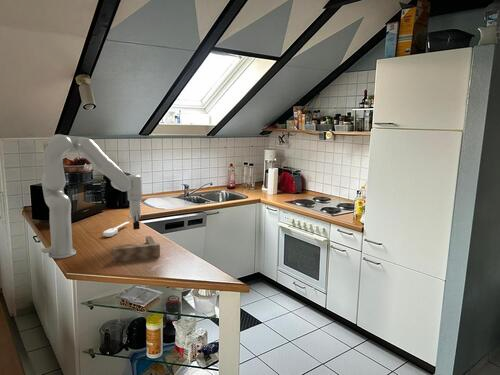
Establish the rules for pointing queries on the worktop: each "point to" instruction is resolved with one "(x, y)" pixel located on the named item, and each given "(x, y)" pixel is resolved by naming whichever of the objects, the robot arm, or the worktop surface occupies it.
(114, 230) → the white toy guitar
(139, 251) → the brown angled block
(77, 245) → the worktop surface
